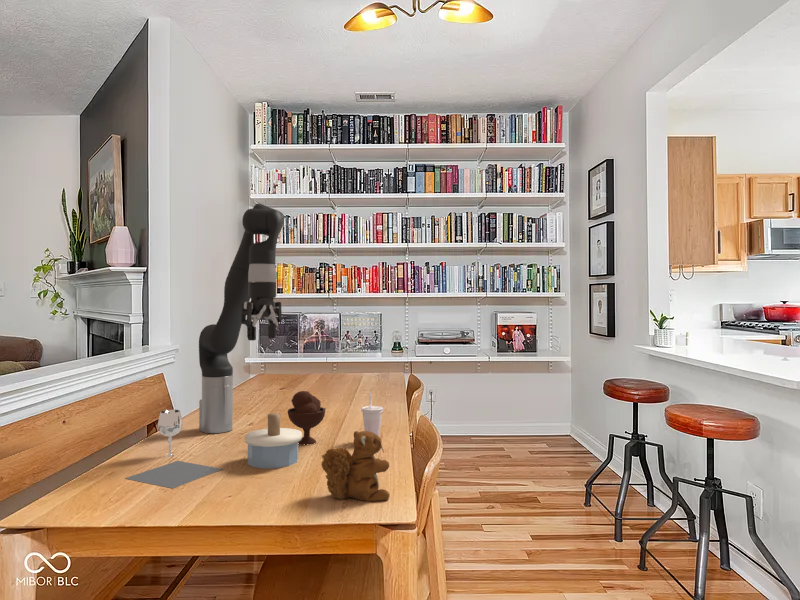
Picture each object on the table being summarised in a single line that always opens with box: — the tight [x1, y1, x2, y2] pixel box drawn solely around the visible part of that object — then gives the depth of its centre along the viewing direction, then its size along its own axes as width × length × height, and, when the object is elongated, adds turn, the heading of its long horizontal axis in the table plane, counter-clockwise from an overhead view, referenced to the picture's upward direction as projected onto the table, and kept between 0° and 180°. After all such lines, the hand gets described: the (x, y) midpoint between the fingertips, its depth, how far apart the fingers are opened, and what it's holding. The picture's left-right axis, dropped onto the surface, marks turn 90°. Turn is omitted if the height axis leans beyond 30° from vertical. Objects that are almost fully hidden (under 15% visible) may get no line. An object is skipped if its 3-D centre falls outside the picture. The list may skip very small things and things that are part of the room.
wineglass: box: [157, 409, 183, 458], centre depth 141 cm, size 6×6×12 cm
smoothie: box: [361, 392, 384, 437], centre depth 158 cm, size 6×6×14 cm
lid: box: [244, 412, 303, 447], centre depth 136 cm, size 14×14×6 cm
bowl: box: [247, 442, 299, 470], centre depth 136 cm, size 12×12×6 cm
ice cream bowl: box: [287, 390, 327, 446], centre depth 156 cm, size 11×11×15 cm
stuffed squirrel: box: [321, 430, 391, 502], centre depth 114 cm, size 10×14×13 cm
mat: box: [124, 460, 224, 489], centre depth 126 cm, size 15×15×1 cm
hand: (262, 339), depth 150 cm, fingers open, 8 cm apart
